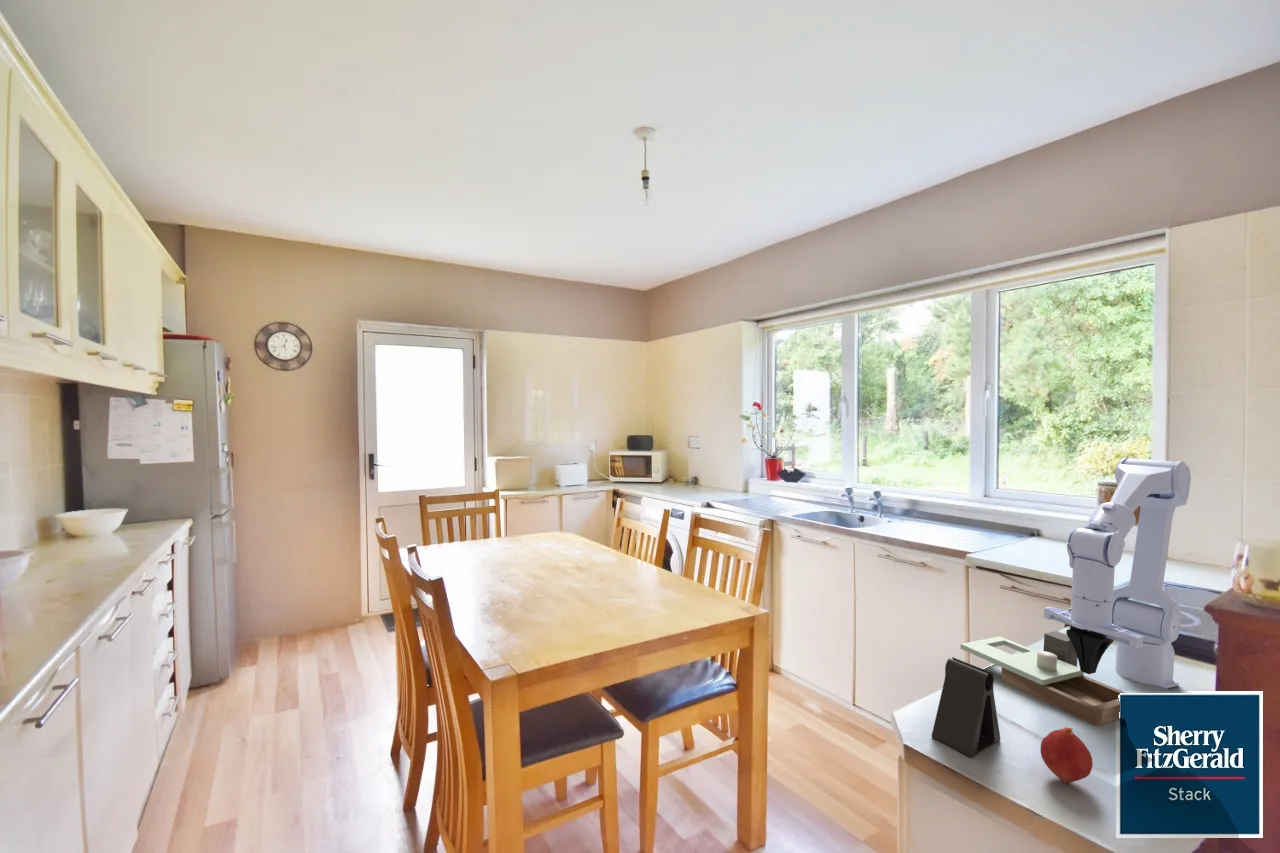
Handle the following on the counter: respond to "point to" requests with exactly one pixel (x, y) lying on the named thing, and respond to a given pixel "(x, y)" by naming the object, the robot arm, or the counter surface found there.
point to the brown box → (1073, 696)
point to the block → (1060, 647)
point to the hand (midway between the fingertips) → (1088, 671)
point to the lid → (1023, 660)
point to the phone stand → (967, 709)
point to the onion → (1066, 755)
